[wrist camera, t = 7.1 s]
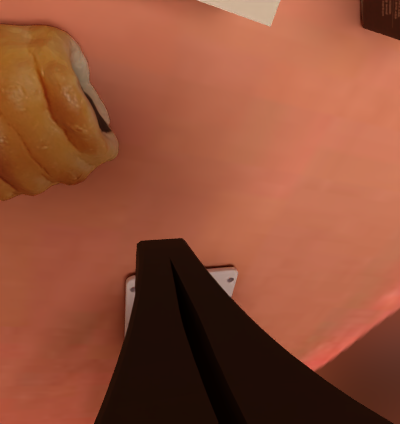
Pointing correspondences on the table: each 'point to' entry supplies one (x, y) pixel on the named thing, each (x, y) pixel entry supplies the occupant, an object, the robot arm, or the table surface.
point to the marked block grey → (249, 8)
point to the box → (382, 17)
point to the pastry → (48, 112)
